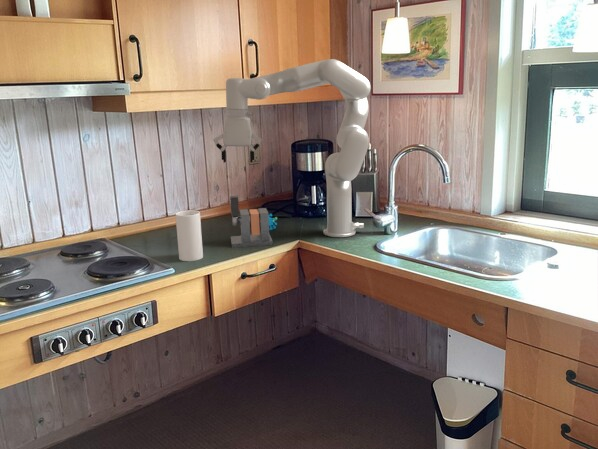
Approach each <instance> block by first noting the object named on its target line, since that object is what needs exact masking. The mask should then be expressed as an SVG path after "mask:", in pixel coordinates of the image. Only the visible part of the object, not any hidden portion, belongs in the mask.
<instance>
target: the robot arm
mask: <svg viewBox="0 0 598 449" xmlns="http://www.w3.org/2000/svg"><path fill="white" fill-rule="evenodd" d="M325 85H332V86H333V87H335V88H336V89H338V90H339V92H340V93H339V94H341V97H343V99H344V102H345V111H344V112H345V113H344V116H343V119H342V122H341V125H340V127H339V129H338V132H337V135H336V143H337V145H338V147H339V148H340V151H339V152H338V151H337V152H334V153H332V154H330V155H329V156H328V157H327V158H326V160H325V164H324V174H325V180H326V219H327V220H326V224H327V226H326V228H324V229H323V235H325V236H328V237H331V238H347V237H351V236H355V234H356V229H364V228H365V224H364V222H353V221H352V209H353V208H352V205H353V204H352V202H353V201H352V193H353V192H352V191H353V189H352V181H353V180H354V179H355V178H356V177H358V175H359V173H360V170H361V168H362V166H363V163H364V160H365V157H366V155H367V151H368V148H369V145H370V138H369V134H368V132H367V131H366V130H365V126H366V123H367V120H368V116H369V110H370V106H369V101H368V96H369V95H370V92H371V89H372V87H371V82H370V81H369V80H368V78H367V77H365V76H364V75H362V74H361V73H360V72H359V71H356V70H354V69H353V68H351V67H350V66H348V65H346V64H345V63H344V62H342V61H340V60H338V59H335V58H331V59H330V58H329V59H323V60H320V61H319V60H318V61H315V62H310V63H305V64H303V65H299V66H293V67H291V68H289V67H288V68H286V69H284V70H281V71H277V72H274V73H268V74H265V75H261V76H258V77H253V78H243V77H242V78H239V77H236V78H235V77H233V78H232V77H231V78H227V79H226V81H225V100H226V101H225V103H226V104H225V106H226V107H225V108H226V117H225V118H224V122H223V130H222V131H223V132H222V134H220V135H218V136H216V137H214V138H213V143H214V144H215V146H216V148H218V149H219V151H220V152H221V161H223V163H226V162H227V151H226V149H227V147H248V149H250V151H249V152H250V153H249V160H250V161H249V162H250V163H253V161H255V151H256V150H257V149H258V148H259V147H260V145H261V143H262V141H263V140H262V138H261V137H259V136H257V135H255V134H253V132H252V129H253V128H252V122H251V118H250V117H249V116H251V115H253V114H252V113H253V111H252V110H249V106H248V104H249V102H248V99H251V100H256V101H257V100H265V99H266V98H267V97H270V96H272V95H273V96H274V95H279V94H283V93H296V92H301V91H304V90H309V89H312V88H313V89H314V88H317V87H321V86H325ZM220 140H223V145H222V144H220V142H219V141H220ZM253 140H255V141H257V142H256V143H255V145H253V144H252V143H253Z"/></svg>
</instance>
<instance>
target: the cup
mask: <svg viewBox="0 0 598 449" xmlns="http://www.w3.org/2000/svg"><path fill="white" fill-rule="evenodd" d="M201 221H202V220H201V212H200V211H199V210H197V209H196V210H195V209H191V210H190V209H188V210H181V211H178V212H176V213H175V226H176V235H177V250H178V258H179V260H180V261H183V262H195V261H199V260H201V259H203V258H204V252H203V251H204V250H203V238H202V223H201Z"/></svg>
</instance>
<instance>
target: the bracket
mask: <svg viewBox="0 0 598 449" xmlns="http://www.w3.org/2000/svg"><path fill="white" fill-rule="evenodd" d="M257 210H258V213H259V215H260V223H259V227H260V235H251V231H250V218H249V209H247V208H245V209H239V216H241V224H240V235H233V236H230V244H231V248H232V249H236V248H248V247H263V246H273V242H274V241H273V239H272V237H271V234H270V231H269V215H270V213H269V211H268V209H267V207H260V208H257Z"/></svg>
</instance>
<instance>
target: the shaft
mask: <svg viewBox="0 0 598 449" xmlns="http://www.w3.org/2000/svg"><path fill="white" fill-rule="evenodd" d="M229 202H230V215H231V217H232V227H237V226H239V225H241V216H240V209H239V196H238V195H230V196H229ZM249 218H250V223H251V217H250V216H249ZM259 223H260V215H259Z"/></svg>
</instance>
